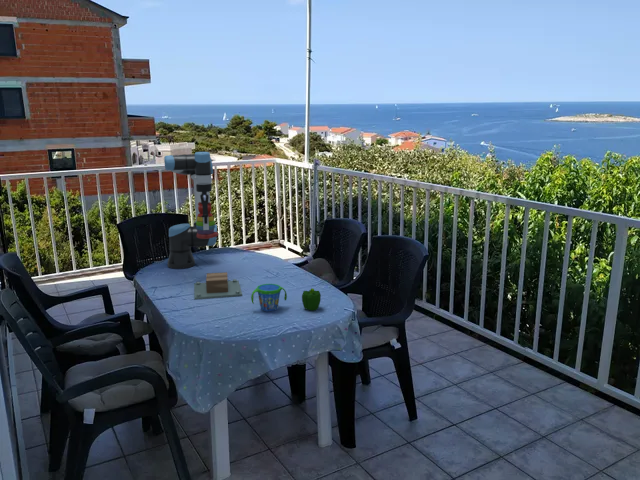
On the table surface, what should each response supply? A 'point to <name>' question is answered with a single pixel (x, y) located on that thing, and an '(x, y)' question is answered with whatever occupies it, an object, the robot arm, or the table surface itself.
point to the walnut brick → (217, 282)
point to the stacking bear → (199, 224)
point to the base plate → (201, 293)
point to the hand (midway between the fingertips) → (205, 227)
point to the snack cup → (268, 296)
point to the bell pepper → (311, 299)
